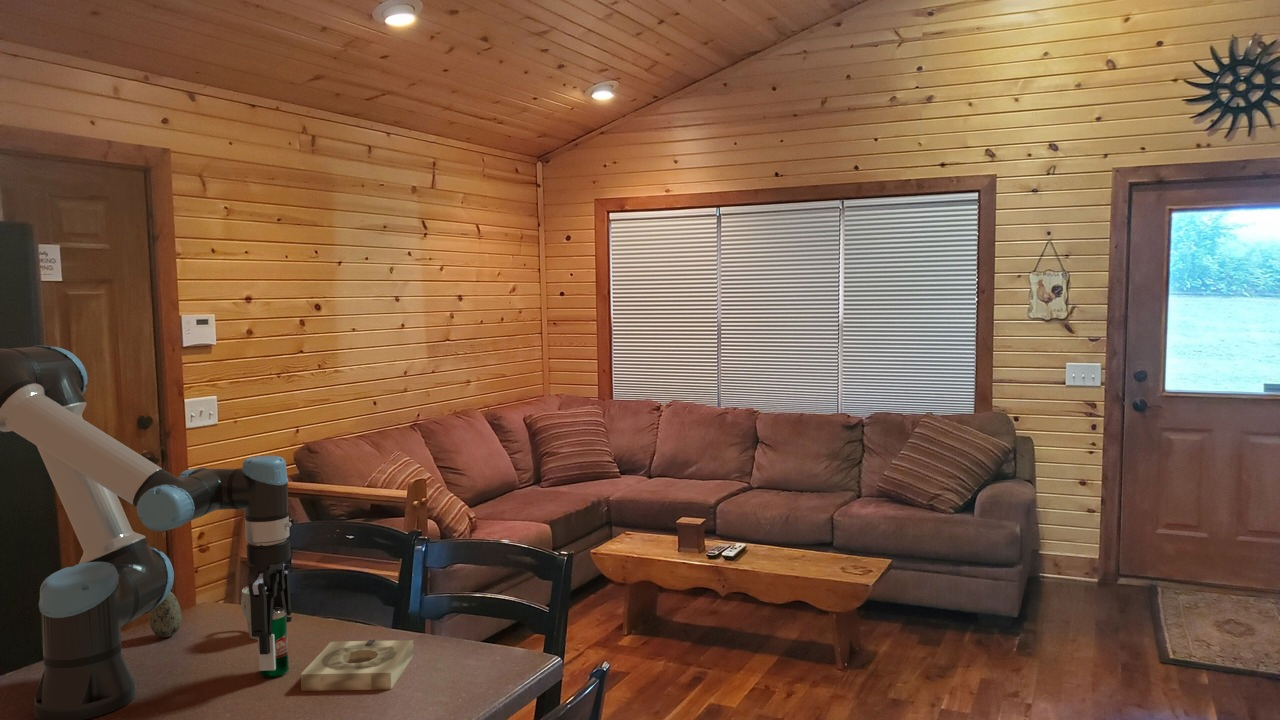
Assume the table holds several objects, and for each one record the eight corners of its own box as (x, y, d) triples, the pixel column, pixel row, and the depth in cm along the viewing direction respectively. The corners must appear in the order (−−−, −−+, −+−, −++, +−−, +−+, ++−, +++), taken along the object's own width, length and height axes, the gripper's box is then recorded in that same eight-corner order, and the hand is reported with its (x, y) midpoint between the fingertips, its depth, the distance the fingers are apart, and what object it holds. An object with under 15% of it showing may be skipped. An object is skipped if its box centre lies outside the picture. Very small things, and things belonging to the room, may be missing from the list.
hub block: (301, 690, 165) (300, 673, 165) (331, 656, 181) (331, 640, 181) (391, 689, 165) (390, 671, 165) (413, 655, 181) (413, 639, 181)
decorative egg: (168, 630, 198) (165, 584, 198) (189, 633, 196) (186, 586, 195) (144, 639, 193) (141, 592, 192) (165, 643, 190) (162, 595, 190)
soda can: (278, 680, 170) (275, 615, 169) (254, 678, 171) (251, 614, 170) (294, 669, 175) (291, 606, 174) (270, 667, 176) (267, 605, 175)
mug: (260, 645, 188) (257, 596, 188) (223, 634, 195) (221, 587, 195) (295, 632, 195) (293, 585, 195) (258, 622, 202) (256, 577, 201)
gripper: (268, 553, 163) (274, 683, 164) (306, 528, 181) (311, 645, 182) (226, 553, 163) (232, 683, 164) (268, 528, 181) (273, 646, 182)
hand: (273, 663), depth 173 cm, fingers closed on soda can, 5 cm apart
